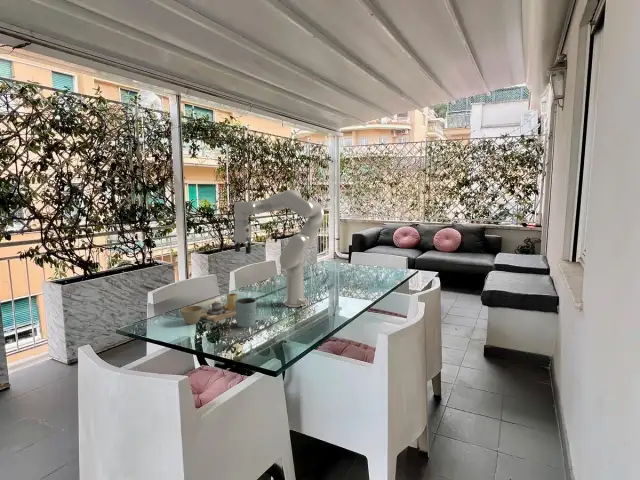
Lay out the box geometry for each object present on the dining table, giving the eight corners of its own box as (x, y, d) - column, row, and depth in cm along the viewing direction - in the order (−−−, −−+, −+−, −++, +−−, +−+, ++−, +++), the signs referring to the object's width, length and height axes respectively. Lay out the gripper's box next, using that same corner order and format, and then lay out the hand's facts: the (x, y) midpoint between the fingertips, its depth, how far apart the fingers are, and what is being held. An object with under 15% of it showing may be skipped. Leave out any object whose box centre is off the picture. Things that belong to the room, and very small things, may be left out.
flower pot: (183, 327, 180) (182, 313, 179) (180, 321, 189) (179, 307, 188) (205, 324, 185) (204, 309, 184) (201, 318, 194) (200, 304, 193)
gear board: (253, 309, 207) (253, 296, 206) (214, 321, 188) (213, 307, 187) (236, 304, 216) (236, 291, 215) (197, 315, 197) (196, 302, 197)
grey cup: (238, 320, 189) (237, 297, 187) (259, 320, 188) (258, 297, 187) (233, 328, 179) (232, 303, 177) (254, 328, 178) (254, 303, 177)
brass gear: (245, 307, 205) (245, 294, 204) (230, 311, 198) (230, 298, 197) (234, 303, 212) (233, 291, 211) (219, 307, 204) (218, 295, 203)
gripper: (256, 223, 216) (257, 253, 218) (237, 222, 227) (238, 250, 230) (246, 224, 211) (247, 254, 213) (227, 222, 222) (228, 251, 224)
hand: (242, 252), depth 221 cm, fingers open, 9 cm apart
